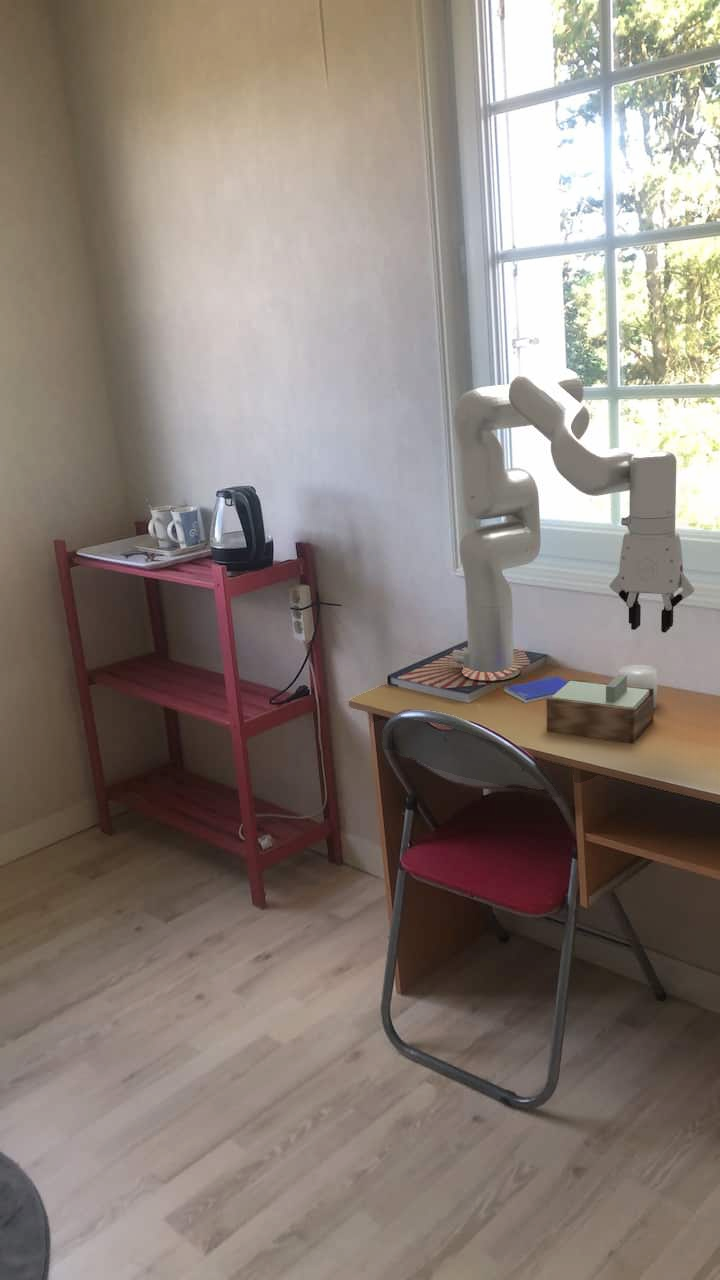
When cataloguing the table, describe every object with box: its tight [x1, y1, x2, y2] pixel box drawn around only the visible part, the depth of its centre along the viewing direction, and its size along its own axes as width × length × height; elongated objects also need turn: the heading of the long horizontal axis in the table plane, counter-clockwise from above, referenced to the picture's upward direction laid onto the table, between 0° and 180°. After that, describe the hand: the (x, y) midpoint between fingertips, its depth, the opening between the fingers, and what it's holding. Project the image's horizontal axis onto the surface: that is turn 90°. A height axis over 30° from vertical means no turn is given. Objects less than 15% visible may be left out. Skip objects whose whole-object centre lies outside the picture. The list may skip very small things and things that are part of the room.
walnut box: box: [545, 678, 654, 744], centre depth 199 cm, size 16×12×6 cm
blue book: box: [503, 676, 569, 704], centre depth 219 cm, size 2×8×12 cm
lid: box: [550, 673, 649, 710], centre depth 197 cm, size 15×10×4 cm, turn 59°
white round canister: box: [618, 664, 658, 710], centre depth 208 cm, size 7×7×7 cm
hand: (650, 628), depth 190 cm, fingers open, 4 cm apart
